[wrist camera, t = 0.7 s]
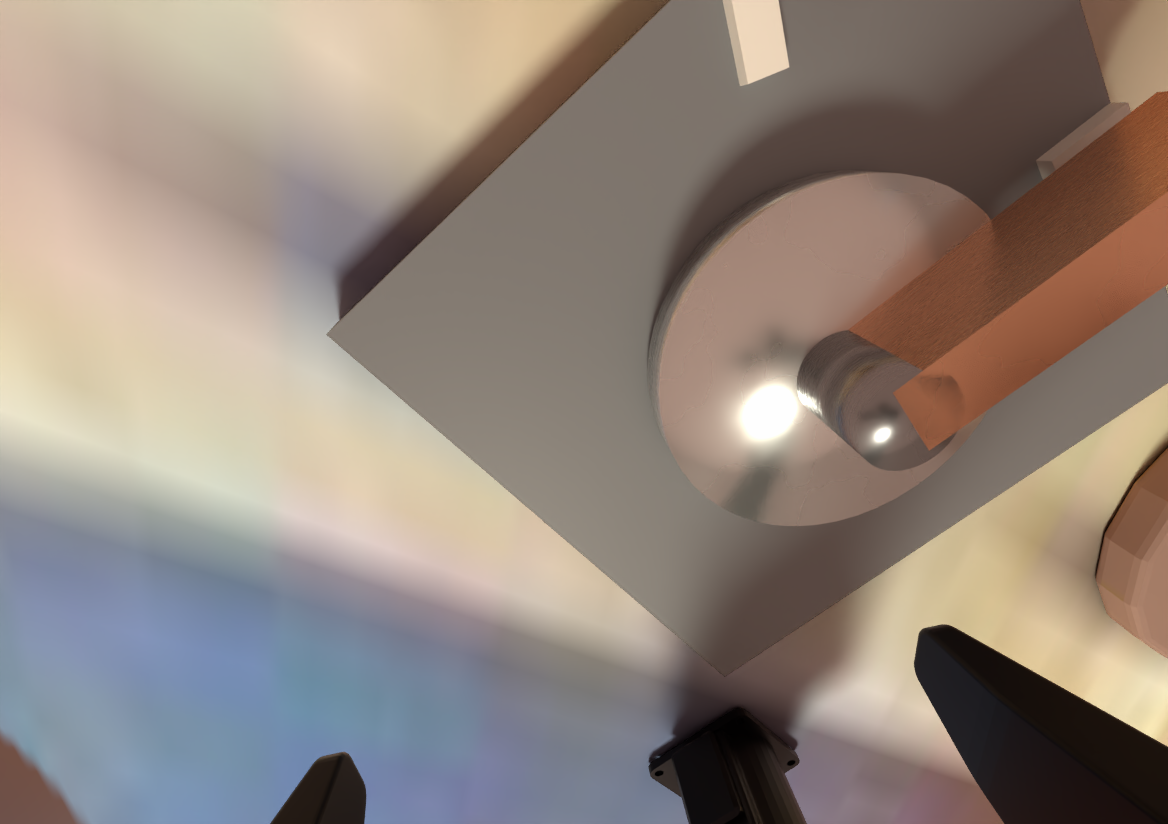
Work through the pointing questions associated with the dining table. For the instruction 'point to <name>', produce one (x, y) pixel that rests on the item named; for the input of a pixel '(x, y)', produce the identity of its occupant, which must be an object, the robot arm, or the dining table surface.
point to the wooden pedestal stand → (1139, 559)
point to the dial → (892, 321)
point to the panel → (675, 229)
